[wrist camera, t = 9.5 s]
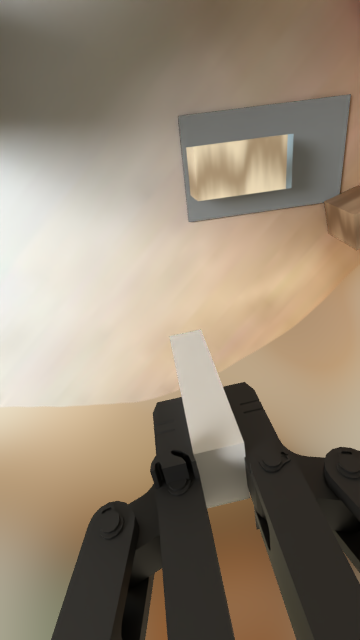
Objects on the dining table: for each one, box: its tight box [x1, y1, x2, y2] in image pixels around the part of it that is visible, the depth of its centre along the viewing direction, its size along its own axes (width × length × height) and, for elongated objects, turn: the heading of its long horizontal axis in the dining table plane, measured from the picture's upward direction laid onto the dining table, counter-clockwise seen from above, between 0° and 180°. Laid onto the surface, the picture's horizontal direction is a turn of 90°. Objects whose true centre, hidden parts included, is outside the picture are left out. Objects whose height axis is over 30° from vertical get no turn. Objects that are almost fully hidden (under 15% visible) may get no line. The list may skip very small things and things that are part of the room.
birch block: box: [186, 134, 294, 201], centre depth 35 cm, size 5×5×10 cm
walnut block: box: [324, 186, 360, 250], centre depth 39 cm, size 4×4×6 cm
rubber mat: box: [178, 94, 351, 222], centre depth 37 cm, size 11×19×1 cm, turn 97°
